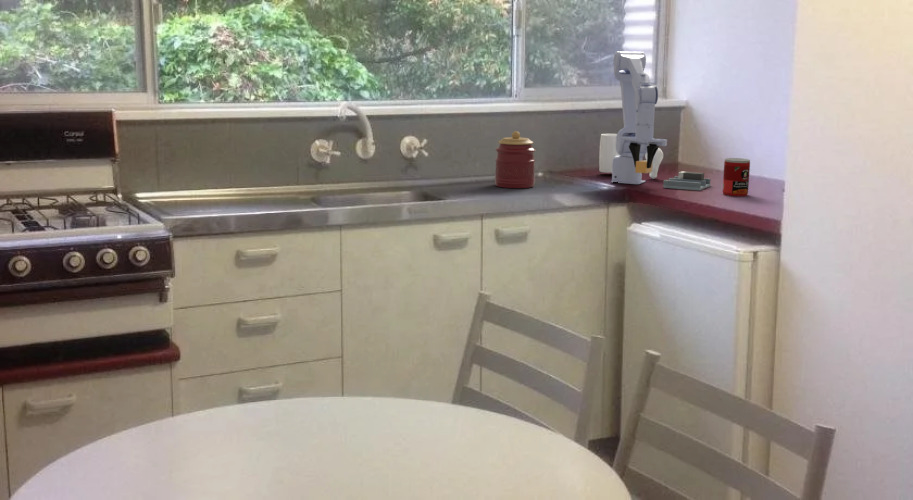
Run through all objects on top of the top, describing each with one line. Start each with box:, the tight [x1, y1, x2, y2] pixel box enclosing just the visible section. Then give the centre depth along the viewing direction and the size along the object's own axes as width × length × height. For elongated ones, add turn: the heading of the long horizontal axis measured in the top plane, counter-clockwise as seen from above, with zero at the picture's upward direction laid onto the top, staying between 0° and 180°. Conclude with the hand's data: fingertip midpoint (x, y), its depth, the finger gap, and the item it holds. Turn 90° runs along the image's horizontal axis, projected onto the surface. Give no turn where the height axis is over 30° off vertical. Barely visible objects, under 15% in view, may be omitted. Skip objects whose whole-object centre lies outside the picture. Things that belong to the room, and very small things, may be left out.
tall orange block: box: [635, 159, 654, 174], centre depth 347 cm, size 8×3×4 cm, turn 152°
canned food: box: [722, 157, 751, 197], centre depth 336 cm, size 8×8×11 cm
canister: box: [494, 130, 537, 189], centre depth 348 cm, size 13×13×18 cm
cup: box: [598, 133, 620, 174], centre depth 381 cm, size 8×8×14 cm
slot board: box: [662, 175, 712, 191], centre depth 353 cm, size 12×12×2 cm
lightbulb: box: [644, 147, 664, 180], centre depth 372 cm, size 6×6×11 cm
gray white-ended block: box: [678, 170, 705, 181], centre depth 355 cm, size 8×3×4 cm, turn 62°
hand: (642, 167), depth 346 cm, fingers closed on tall orange block, 3 cm apart
